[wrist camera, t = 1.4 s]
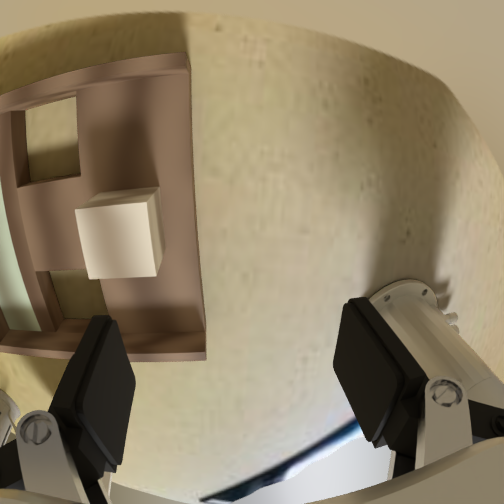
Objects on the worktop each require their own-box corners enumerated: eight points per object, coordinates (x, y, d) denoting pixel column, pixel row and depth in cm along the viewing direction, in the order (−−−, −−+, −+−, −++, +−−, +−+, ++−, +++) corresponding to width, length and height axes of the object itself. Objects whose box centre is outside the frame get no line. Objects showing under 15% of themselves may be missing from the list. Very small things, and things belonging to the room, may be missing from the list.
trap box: (191, 67, 21) (185, 51, 16) (206, 323, 30) (206, 360, 25) (-28, 121, 18) (-62, 126, 13) (16, 323, 28) (-4, 351, 23)
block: (159, 186, 22) (146, 202, 18) (166, 247, 24) (156, 276, 20) (99, 192, 22) (74, 209, 17) (109, 251, 24) (89, 279, 19)
